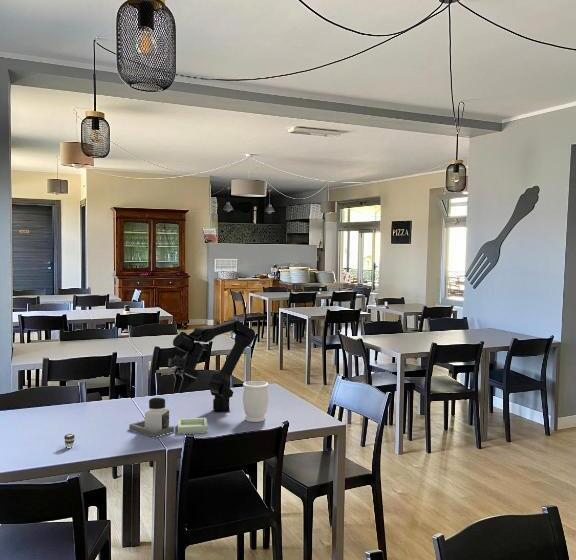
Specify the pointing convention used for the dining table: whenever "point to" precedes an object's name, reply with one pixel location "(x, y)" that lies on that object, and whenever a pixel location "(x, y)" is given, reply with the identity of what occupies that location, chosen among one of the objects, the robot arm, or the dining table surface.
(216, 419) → the dining table surface
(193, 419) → the tray
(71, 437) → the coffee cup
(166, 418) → the medicine bottle
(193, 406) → the dining table surface
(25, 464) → the dining table surface
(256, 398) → the jar
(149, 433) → the holder
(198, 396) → the dining table surface
